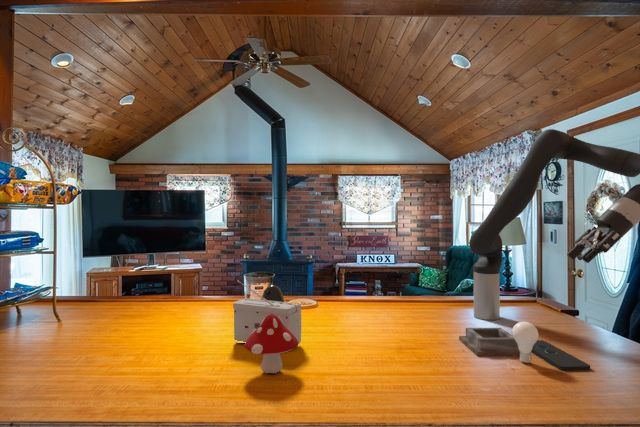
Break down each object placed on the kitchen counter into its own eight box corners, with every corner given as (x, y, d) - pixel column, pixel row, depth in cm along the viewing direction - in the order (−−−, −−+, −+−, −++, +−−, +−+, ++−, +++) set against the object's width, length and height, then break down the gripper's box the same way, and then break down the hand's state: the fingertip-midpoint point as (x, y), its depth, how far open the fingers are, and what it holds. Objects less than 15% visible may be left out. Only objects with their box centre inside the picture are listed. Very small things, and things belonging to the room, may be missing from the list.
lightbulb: (542, 368, 102) (542, 326, 102) (515, 366, 104) (515, 324, 104) (534, 359, 109) (533, 319, 109) (509, 357, 110) (509, 318, 110)
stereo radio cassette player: (302, 345, 121) (302, 280, 121) (289, 354, 113) (288, 285, 113) (246, 336, 130) (245, 276, 130) (230, 344, 122) (230, 280, 122)
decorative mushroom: (275, 389, 91) (274, 325, 91) (232, 376, 98) (231, 316, 98) (309, 368, 103) (308, 311, 103) (268, 358, 110) (267, 305, 110)
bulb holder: (459, 339, 125) (459, 326, 125) (502, 339, 125) (502, 326, 125) (477, 356, 111) (477, 341, 111) (526, 355, 111) (526, 340, 111)
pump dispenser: (252, 330, 136) (251, 287, 136) (267, 322, 145) (266, 281, 145) (278, 334, 132) (278, 289, 132) (292, 325, 142) (291, 283, 141)
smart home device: (544, 339, 121) (592, 365, 101) (544, 345, 121) (592, 372, 101) (517, 340, 120) (561, 366, 101) (517, 345, 120) (561, 372, 101)
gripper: (596, 208, 117) (555, 247, 119) (624, 207, 103) (578, 251, 105) (616, 226, 116) (575, 265, 118) (648, 227, 102) (600, 271, 104)
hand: (576, 258), depth 111 cm, fingers open, 8 cm apart
